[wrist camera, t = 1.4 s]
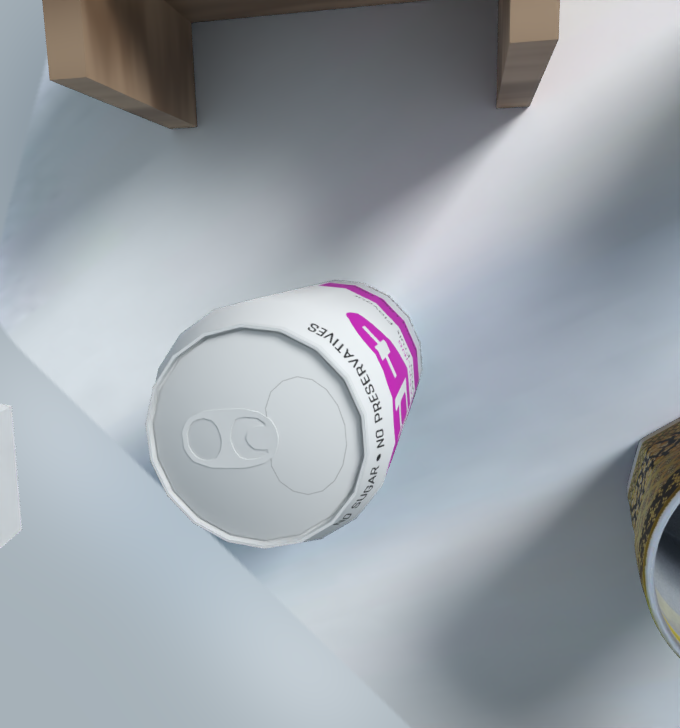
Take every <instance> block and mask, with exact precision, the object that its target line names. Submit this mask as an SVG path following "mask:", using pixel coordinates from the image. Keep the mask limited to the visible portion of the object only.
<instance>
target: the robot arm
mask: <svg viewBox="0 0 680 728" xmlns="http://www.w3.org/2000/svg"><path fill="white" fill-rule="evenodd" d="M21 530H22V525H21V513H20V501H19V488H18V476H17V464H16V452H15V440H14V428H13V416H12V406H9V405H4V404H0V548H1V547H2V546H4V545H5V544H6V543H7V542H8V541H10V540H11V539H12V538H13V537H14V536H16V535H17V534H18V533H19V532H20V531H21Z"/></svg>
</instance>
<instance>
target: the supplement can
mask: <svg viewBox="0 0 680 728" xmlns="http://www.w3.org/2000/svg"><path fill="white" fill-rule="evenodd" d="M421 374H422V356H421V342H420V340H419V337H418V335H417V333H416V331H415V328H414V326H413V324H412V322H411V319H410V317H409V316H408V315H407V313H406V312H405V311H404V310H403V309H402V308H401V307H400V306H399V305H398V304H397V303H396V302H395V301H394V300H393V299H392V298H391V297H390V296H389V295H387V294H385V293H383V292H381V291H379V290H377V289H375V288H373V287H371V286H369V285H367V284H365V283H360V282H351V281H341V280H333V281H329V282H325V283H320V284H316V285H312V286H307V287H303V288H299V289H294V290H290V291H286V292H282V293H277V294H273V295H269V296H264V297H260V298H256V299H252V300H248V301H244V302H241V303H237V304H233V305H229V306H225V307H222V308H218V309H214V310H212V311H211V312H210V313H208V314H207V315H206V316H204V317H203V318H202V319H200V320H199V321H198V322H196V323H195V324H193V325H192V326H191V327H189V328H188V329H187V330H185V331H184V332H183V333H181V334H180V335H179V337H178V339H177V340H176V342H175V343H174V345H173V346H172V348H171V350H170V351H169V353H168V354H167V356H166V358H165V359H164V361H163V362H162V364H161V365H160V367H159V369H158V373H157V378H156V383H155V385H154V386H153V389H152V394H151V399H150V404H149V409H148V413H147V418H146V423H145V424H146V432H147V439H148V446H149V454H150V461H151V463H152V465H153V467H154V469H155V471H156V474H157V476H158V478H159V480H160V482H161V484H162V486H163V488H164V490H165V492H166V494H167V496H168V497H169V498H170V499H171V500H172V501H173V502H174V503H175V504H176V505H177V506H178V507H179V509H180V510H181V511H182V512H183V513H184V514H185V515H186V516H187V517H188V518H189V519H190V520H191V521H192V522H193V523H194V524H195V525H197V526H199V527H201V528H203V529H205V530H206V531H208V532H210V533H212V534H214V535H216V536H217V537H219V538H221V539H223V540H225V541H227V542H230V543H236V544H241V545H247V546H253V547H258V548H264V549H266V548H272V547H278V546H284V545H290V544H296V543H302V542H307V541H312V540H318V539H322V538H324V537H325V536H327V535H329V534H331V533H332V532H334V531H336V530H337V529H339V528H341V527H343V526H344V525H346V524H348V523H349V522H351V521H353V520H355V519H356V518H357V517H358V516H359V514H360V513H361V512H362V511H363V509H364V508H365V507H366V506H367V504H368V503H369V502H370V501H371V499H372V498H373V497H374V495H375V494H376V493H377V492H378V490H379V489H380V488H381V487H382V485H383V482H384V479H385V477H386V474H387V471H388V468H389V466H390V463H391V460H392V457H393V455H394V452H395V449H396V446H397V444H398V441H399V438H400V435H401V433H402V430H403V427H404V424H405V422H406V419H407V416H408V413H409V410H410V408H411V405H412V402H413V399H414V397H415V393H416V390H417V387H418V383H419V380H420V377H421Z"/></svg>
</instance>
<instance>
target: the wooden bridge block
mask: <svg viewBox="0 0 680 728" xmlns="http://www.w3.org/2000/svg"><path fill="white" fill-rule="evenodd" d="M42 1H43V12H44V22H45V32H46V44H47V55H48V66H49V77H50V80H51V81H53V82H56V83H58V84H61V85H63V86H66V87H68V88H71V89H73V90H75V91H78V92H80V93H83V94H85V95H88V96H90V97H93V98H95V99H98V100H100V101H103V102H105V103H108V104H110V105H113V106H115V107H118V108H120V109H123V110H125V111H127V112H130V113H132V114H135V115H137V116H140V117H142V118H145V119H147V120H150V121H152V122H155V123H157V124H160V125H162V126H165V127H167V128H170V129H173V128H189V127H197V116H196V98H195V81H194V63H193V45H192V27H191V23H193V22H203V21H214V20H224V19H235V18H246V17H256V16H267V15H277V14H288V13H298V12H309V11H319V10H330V9H340V8H351V7H361V6H372V5H382V4H393V3H404V2H414V1H425V0H42ZM559 9H560V0H498V46H497V98H496V109H497V108H513V107H529V106H530V104H531V102H532V99H533V97H534V95H535V92H536V90H537V88H538V85H539V83H540V81H541V78H542V76H543V74H544V71H545V69H546V67H547V65H548V62H549V60H550V58H551V55H552V53H553V51H554V48H555V46H556V44H557V41H558V38H559Z"/></svg>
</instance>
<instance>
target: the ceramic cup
mask: <svg viewBox="0 0 680 728" xmlns="http://www.w3.org/2000/svg"><path fill="white" fill-rule="evenodd" d="M627 494H628V501H629V505H630V512H631V519H632V525H633V530H634V533H635V553H636V559H637V565H638V570H639V575H640V580H641V584H642V588H643V591H644V594H645V597H646V601H647V604H648V607H649V610H650V613H651V615H652V618H653V620H654V622H655V624H656V626H657V628H658V630H659V631H660V633H661V635H662V637H663V638H664V639H665V641H666V642H667V644H668V645H669V646H670V648H671V649H672V650H673V651H674V652H675V653H676V655H677V656H678V657H679V658H680V418H678V419H676V420H674V421H673V422H671V423H669V424H667V425H665V426H664V427H662V428H660V429H658V430H656V431H655V432H653V433H651V434H649V435H647V436H646V437H644V438H642V439H641V440H640V442H639V444H638V447H637V451H636V454H635V458H634V462H633V465H632V469H631V472H630V476H629V480H628V485H627Z"/></svg>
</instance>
